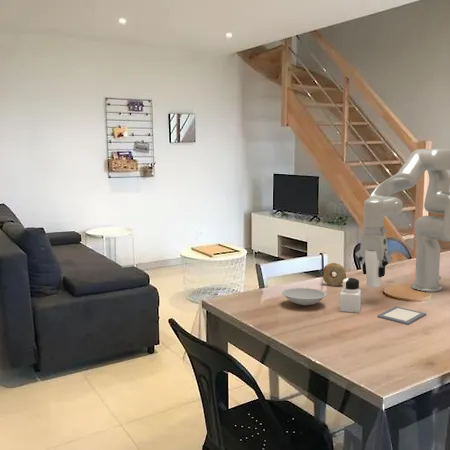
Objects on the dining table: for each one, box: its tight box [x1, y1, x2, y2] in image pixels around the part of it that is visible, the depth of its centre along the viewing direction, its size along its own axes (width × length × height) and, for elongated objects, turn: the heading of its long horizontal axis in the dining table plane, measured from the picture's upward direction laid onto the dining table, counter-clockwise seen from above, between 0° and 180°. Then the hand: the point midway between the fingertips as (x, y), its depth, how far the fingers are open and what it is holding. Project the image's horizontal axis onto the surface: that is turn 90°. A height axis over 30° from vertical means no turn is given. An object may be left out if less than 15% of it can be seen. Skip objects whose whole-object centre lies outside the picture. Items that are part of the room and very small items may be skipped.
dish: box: [281, 287, 328, 307], centre depth 204 cm, size 18×14×5 cm
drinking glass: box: [365, 250, 382, 289], centre depth 203 cm, size 7×7×15 cm
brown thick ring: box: [322, 262, 347, 287], centre depth 229 cm, size 10×4×10 cm, turn 68°
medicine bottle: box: [339, 277, 362, 314], centre depth 197 cm, size 7×7×12 cm
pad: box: [376, 306, 427, 326], centre depth 189 cm, size 14×12×1 cm
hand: (373, 274), depth 203 cm, fingers closed on drinking glass, 6 cm apart
